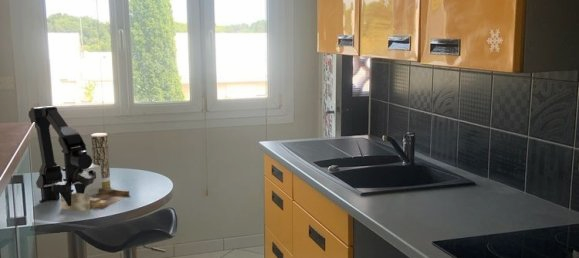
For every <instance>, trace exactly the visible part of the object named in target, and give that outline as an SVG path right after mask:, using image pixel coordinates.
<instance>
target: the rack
mask: <svg viewBox="0 0 579 258" xmlns="http://www.w3.org/2000/svg"><path fill="white" fill-rule="evenodd" d="M129 196H130V190H128V189H127V190H125V189H124V190H123V189H115V188H109V189H104V188H100V189H99V193H98V194H94V195H92V197H93V198H100V199H101V200H105V201H107V204H108V206H106V207H104V208H97V209H99V210H100V209H101V210H104V209H105V208H107V207H109V206H111V205H113V204H115V203H117V202H119V201H121V200H123V199H125V198H127V197H129ZM91 208H92V209H94V208H93V207H90V209H91Z"/></svg>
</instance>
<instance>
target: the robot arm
mask: <svg viewBox="0 0 579 258" xmlns="http://www.w3.org/2000/svg"><path fill="white" fill-rule="evenodd" d="M28 117H29V119H30V120H29V121H30V124H32V123H33V122H35V127H34V128H35V129H36V134H37V139H38V140H37V141H38V147H39V151H40V152H39V153H40V157H41V158H40V159H41V166H40V168H39V170H38V171H39V176H38V178H37V179H36V182H35V184H36V187H37V188H38V189H40V193H41V195H40V197H41V199H40V200H38V202H39V203H45V202H54V201H58V200H61V195H62V197H63V198H64V200H65V201H66V203H67V205H68V206H71V194H72V193H74V191H75V193H82V194H84V191H85V188H86V186H88V185H89V184H92V183H93V181H94V179H96V172H95V171H94V170H90V171H89V172H88V171H87V172H85V171H84V169H87V168H89V167H90V166H91V164H93V157H91V155H90V154H88V153H87V147H86V146H87V145H86V144H85V141H84V140H83V138H82V136H81V134H80V133H79V132H78V131H77V130H76V129H74V128H71V127H70V126H69V124H67V122H66V121H65V119H64V118H63V116H62V115H61V114H60V112H59V111H58V108H57V106H55V105H50V106H48V105H46V106H36V107H31V108H30V110H28ZM50 126H51V127H52V128H53V129H54V131H55V132H56V134H57V135H58V139H57V140H58V142H59V145H60V147H61V148H62V150H61V153H63V161H64V167H63V168H61V165H58V164H57V163H56V161H55V155H54V150H53V143H52V137H51V129H50ZM62 172H64V176H63V173H62ZM63 177H64V178H63ZM72 186H74V189H72Z"/></svg>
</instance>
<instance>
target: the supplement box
mask: <svg viewBox="0 0 579 258" xmlns="http://www.w3.org/2000/svg"><path fill="white" fill-rule="evenodd" d="M90 170H94V171H95V172H96V179H94V181H93V183H92V184H89V185H88V186H86V188H85V191H84V194H89V196H95V195H97V194H99V189H100V188H102V178H101V166H99V165H95V164H93V163H92V164H91V166H90V167H89V168H87V169H84V171H85V172H87V171H88V172H89V171H90Z"/></svg>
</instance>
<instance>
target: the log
mask: <svg viewBox="0 0 579 258" xmlns="http://www.w3.org/2000/svg"><path fill="white" fill-rule="evenodd" d="M90 137H91V151H92V164H95V165H99V166H101V178H102V188H104V189H111V176H110V175H111V172H110V158H109V137H108V133H107V132H95V133H92V134H91V136H90Z"/></svg>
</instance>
